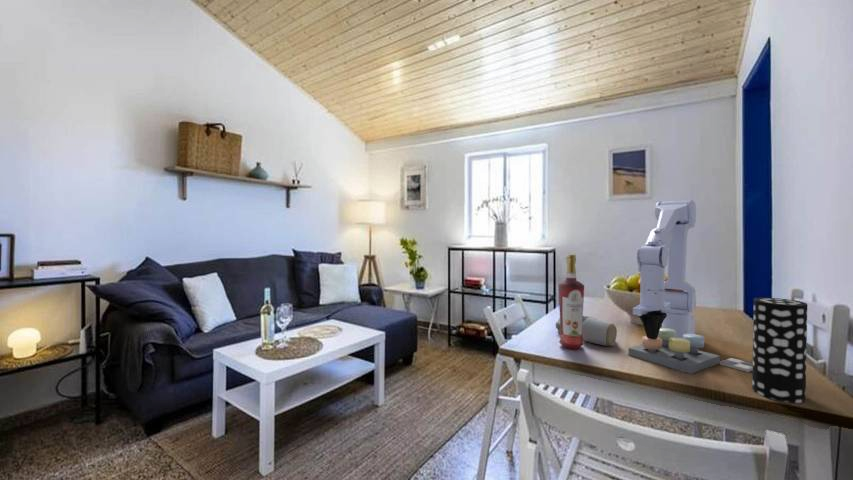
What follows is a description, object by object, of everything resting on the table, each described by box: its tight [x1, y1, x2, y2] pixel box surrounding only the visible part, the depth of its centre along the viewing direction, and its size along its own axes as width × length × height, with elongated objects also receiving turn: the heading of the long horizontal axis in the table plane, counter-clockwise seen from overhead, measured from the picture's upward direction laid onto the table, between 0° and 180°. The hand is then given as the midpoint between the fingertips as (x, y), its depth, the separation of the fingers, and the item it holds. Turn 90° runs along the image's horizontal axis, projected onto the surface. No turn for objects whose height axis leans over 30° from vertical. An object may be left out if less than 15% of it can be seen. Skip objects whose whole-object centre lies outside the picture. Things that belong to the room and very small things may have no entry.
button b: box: [683, 333, 705, 355], centre depth 100 cm, size 5×5×5 cm
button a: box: [658, 327, 676, 348], centre depth 106 cm, size 5×5×5 cm
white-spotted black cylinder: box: [751, 297, 808, 404], centre depth 80 cm, size 8×8×20 cm
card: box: [719, 357, 753, 373], centre depth 96 cm, size 6×6×1 cm
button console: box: [628, 343, 720, 375], centre depth 101 cm, size 14×16×2 cm
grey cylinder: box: [582, 316, 618, 347], centre depth 116 cm, size 11×8×8 cm
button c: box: [641, 335, 662, 353], centre depth 103 cm, size 5×5×5 cm
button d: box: [669, 338, 690, 360], centre depth 97 cm, size 5×5×5 cm
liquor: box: [557, 254, 585, 350], centre depth 112 cm, size 7×7×28 cm
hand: (651, 338), depth 103 cm, fingers closed
